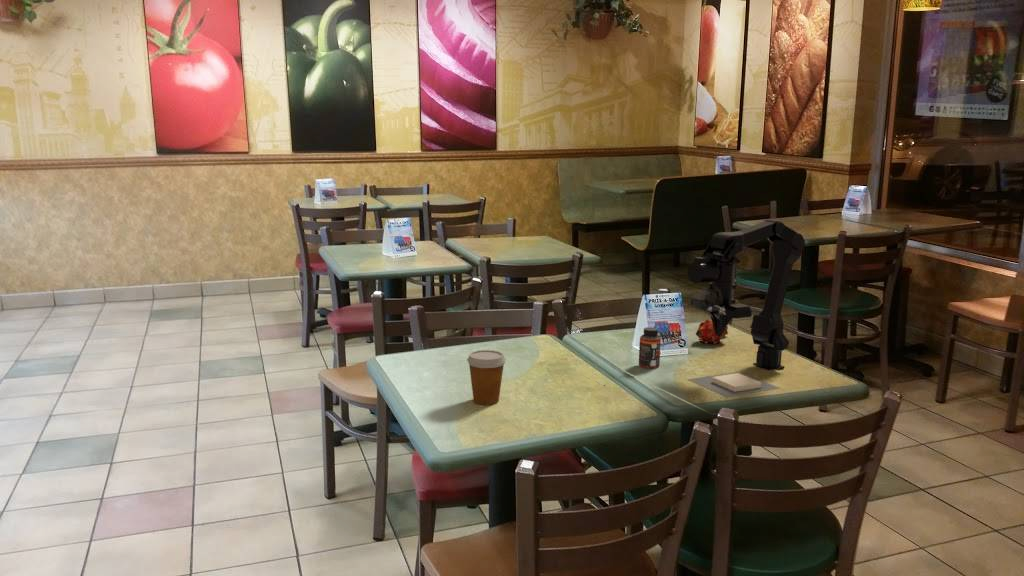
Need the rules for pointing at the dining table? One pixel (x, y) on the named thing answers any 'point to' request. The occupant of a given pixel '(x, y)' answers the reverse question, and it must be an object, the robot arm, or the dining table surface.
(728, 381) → the tile
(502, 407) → the dining table surface
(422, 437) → the dining table surface
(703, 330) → the dragon fruit
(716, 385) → the mat
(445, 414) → the dining table surface
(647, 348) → the supplement bottle
